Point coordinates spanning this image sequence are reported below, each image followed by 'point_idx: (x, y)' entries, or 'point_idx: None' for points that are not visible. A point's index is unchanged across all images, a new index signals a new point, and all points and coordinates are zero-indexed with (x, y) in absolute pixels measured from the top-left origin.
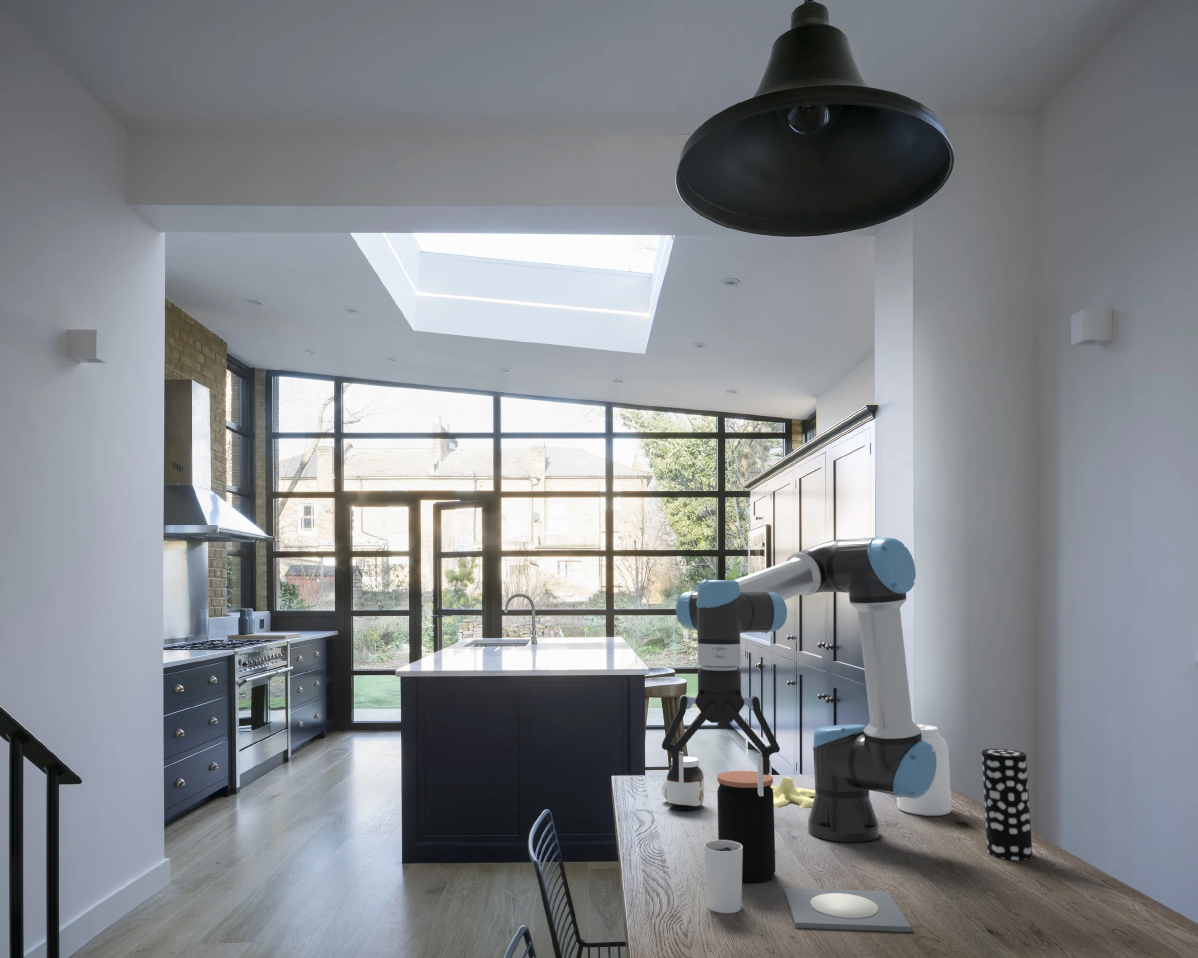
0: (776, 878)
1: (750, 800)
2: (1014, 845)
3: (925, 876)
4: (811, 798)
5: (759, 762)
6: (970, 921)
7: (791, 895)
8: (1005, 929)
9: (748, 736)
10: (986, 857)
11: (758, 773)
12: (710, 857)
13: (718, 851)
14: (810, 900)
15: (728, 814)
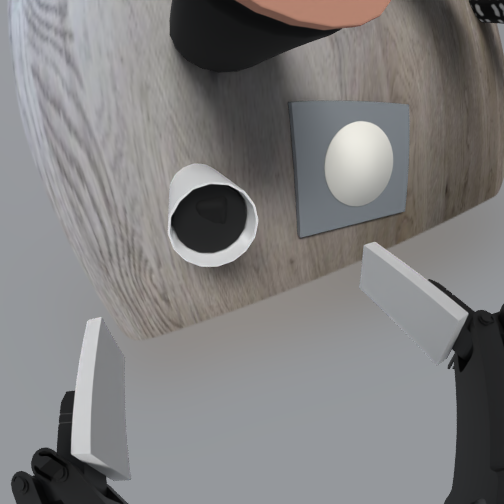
0: None
1: (303, 39)
2: (490, 20)
3: (435, 44)
4: None
5: (426, 350)
6: (443, 170)
7: (301, 135)
8: (454, 184)
9: (458, 435)
10: (467, 7)
11: (401, 322)
12: (188, 252)
13: (209, 265)
14: (325, 151)
15: (214, 33)
